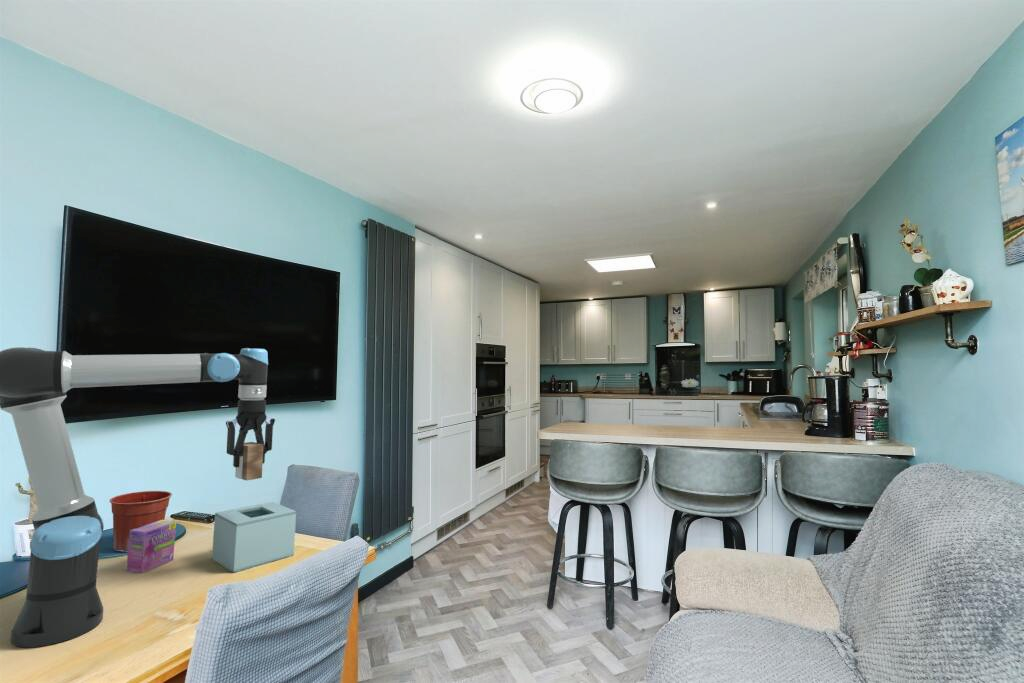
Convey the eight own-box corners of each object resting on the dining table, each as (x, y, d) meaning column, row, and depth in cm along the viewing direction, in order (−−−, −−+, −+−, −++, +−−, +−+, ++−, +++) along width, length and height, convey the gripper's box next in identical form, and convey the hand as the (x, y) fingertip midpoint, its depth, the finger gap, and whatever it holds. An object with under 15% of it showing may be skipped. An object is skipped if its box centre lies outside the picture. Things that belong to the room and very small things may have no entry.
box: (141, 573, 137) (145, 531, 138) (125, 571, 138) (129, 529, 139) (174, 560, 147) (177, 521, 148) (158, 558, 148) (161, 519, 149)
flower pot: (170, 534, 168) (174, 488, 169) (166, 550, 154) (170, 500, 155) (110, 542, 160) (114, 493, 161) (100, 559, 146) (104, 505, 147)
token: (246, 480, 140) (248, 446, 141) (235, 476, 144) (237, 443, 145) (261, 477, 144) (263, 444, 144) (250, 474, 148) (252, 441, 148)
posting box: (233, 572, 139) (236, 524, 140) (211, 558, 149) (215, 512, 150) (293, 555, 154) (296, 511, 154) (270, 543, 163) (272, 501, 164)
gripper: (224, 401, 136) (220, 483, 135) (287, 398, 150) (283, 473, 148) (215, 399, 141) (211, 479, 140) (276, 397, 154) (273, 470, 153)
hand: (248, 476), depth 144 cm, fingers closed on token, 5 cm apart
